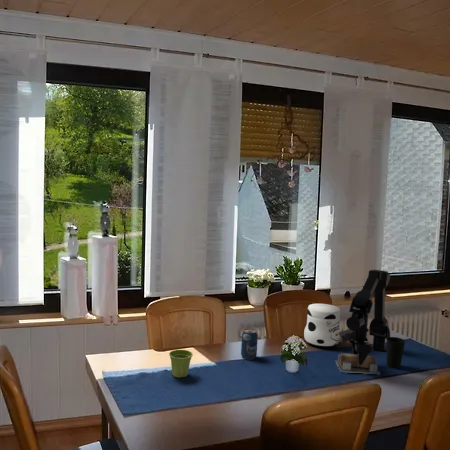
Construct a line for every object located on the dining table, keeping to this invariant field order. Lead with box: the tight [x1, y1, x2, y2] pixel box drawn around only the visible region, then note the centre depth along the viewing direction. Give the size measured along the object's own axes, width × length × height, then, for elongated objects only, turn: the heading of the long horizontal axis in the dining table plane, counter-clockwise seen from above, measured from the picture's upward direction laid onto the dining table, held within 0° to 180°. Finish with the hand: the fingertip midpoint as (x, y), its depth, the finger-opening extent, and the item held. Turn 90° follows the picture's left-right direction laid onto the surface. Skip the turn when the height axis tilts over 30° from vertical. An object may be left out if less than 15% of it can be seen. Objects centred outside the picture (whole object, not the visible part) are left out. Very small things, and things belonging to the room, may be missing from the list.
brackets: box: [335, 354, 381, 376], centre depth 217 cm, size 12×16×4 cm
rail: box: [340, 352, 376, 368], centre depth 217 cm, size 14×4×4 cm, turn 80°
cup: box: [385, 336, 406, 369], centre depth 221 cm, size 8×8×12 cm
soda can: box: [240, 328, 259, 361], centre depth 224 cm, size 7×7×12 cm
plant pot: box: [168, 349, 194, 379], centre depth 201 cm, size 9×9×9 cm
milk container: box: [303, 303, 341, 348], centre depth 246 cm, size 17×17×18 cm
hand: (357, 360), depth 217 cm, fingers open, 9 cm apart
